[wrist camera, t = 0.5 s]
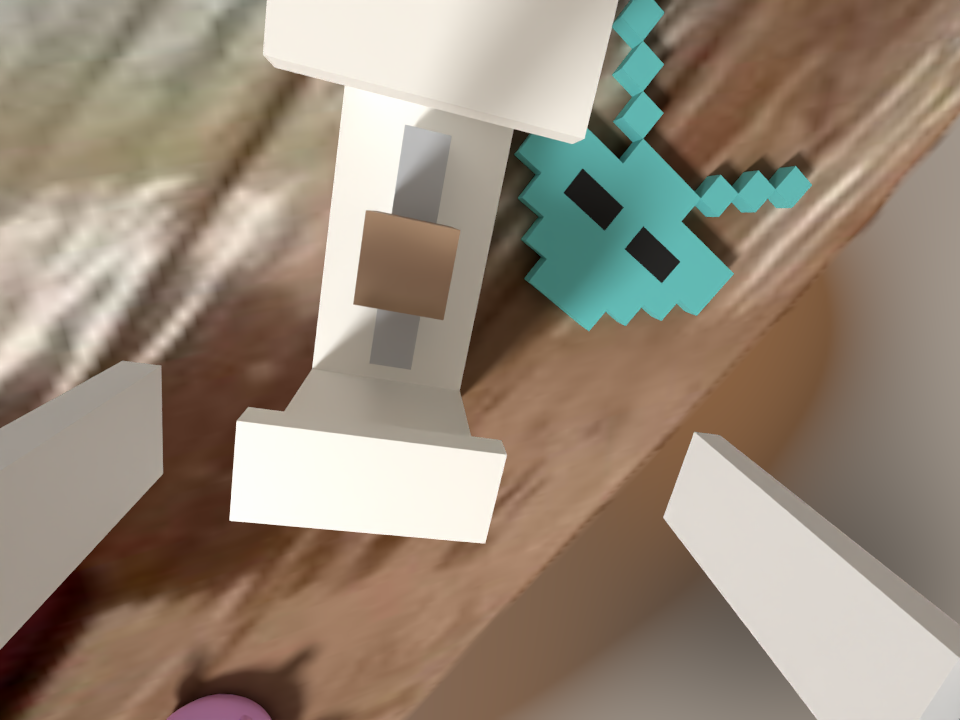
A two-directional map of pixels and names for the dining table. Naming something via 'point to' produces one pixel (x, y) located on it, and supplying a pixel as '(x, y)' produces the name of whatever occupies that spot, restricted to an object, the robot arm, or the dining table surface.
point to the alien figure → (630, 208)
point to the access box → (424, 196)
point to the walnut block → (405, 265)
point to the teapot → (221, 709)
